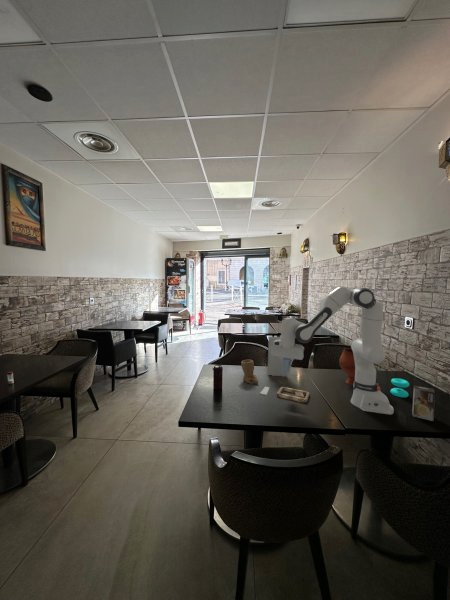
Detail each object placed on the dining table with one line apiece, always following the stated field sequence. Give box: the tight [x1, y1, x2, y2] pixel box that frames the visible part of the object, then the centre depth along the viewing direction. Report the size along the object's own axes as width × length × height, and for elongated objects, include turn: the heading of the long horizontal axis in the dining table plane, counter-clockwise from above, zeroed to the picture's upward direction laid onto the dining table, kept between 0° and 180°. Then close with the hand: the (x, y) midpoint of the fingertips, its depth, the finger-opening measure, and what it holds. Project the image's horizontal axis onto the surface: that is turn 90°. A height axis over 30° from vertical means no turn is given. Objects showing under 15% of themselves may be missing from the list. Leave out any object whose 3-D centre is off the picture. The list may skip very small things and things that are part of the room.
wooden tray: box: [276, 386, 310, 404], centre depth 161 cm, size 18×12×4 cm, turn 63°
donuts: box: [389, 378, 410, 399], centre depth 169 cm, size 10×10×10 cm
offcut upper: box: [294, 392, 305, 398], centre depth 159 cm, size 4×6×2 cm
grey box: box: [266, 336, 287, 377], centre depth 200 cm, size 14×6×30 cm, turn 84°
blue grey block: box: [282, 357, 292, 375], centre depth 162 cm, size 4×7×9 cm, turn 154°
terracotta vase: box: [338, 347, 355, 386], centre depth 186 cm, size 19×19×25 cm
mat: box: [259, 386, 270, 396], centre depth 169 cm, size 9×12×1 cm
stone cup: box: [241, 359, 259, 385], centre depth 187 cm, size 15×12×15 cm
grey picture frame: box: [411, 385, 436, 422], centre depth 141 cm, size 9×6×16 cm
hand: (286, 364), depth 161 cm, fingers closed on blue grey block, 3 cm apart
